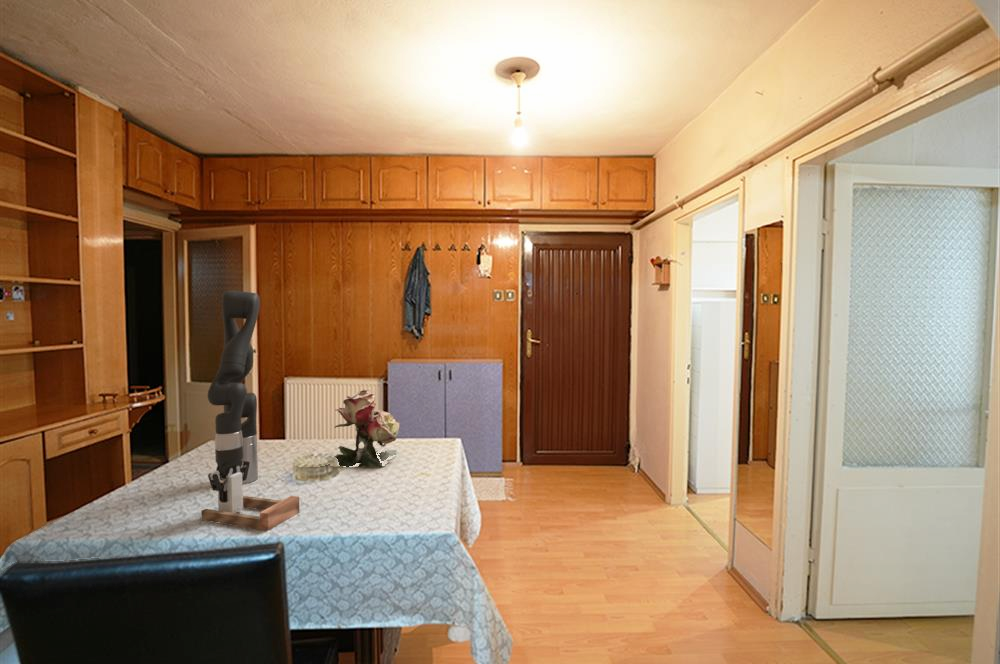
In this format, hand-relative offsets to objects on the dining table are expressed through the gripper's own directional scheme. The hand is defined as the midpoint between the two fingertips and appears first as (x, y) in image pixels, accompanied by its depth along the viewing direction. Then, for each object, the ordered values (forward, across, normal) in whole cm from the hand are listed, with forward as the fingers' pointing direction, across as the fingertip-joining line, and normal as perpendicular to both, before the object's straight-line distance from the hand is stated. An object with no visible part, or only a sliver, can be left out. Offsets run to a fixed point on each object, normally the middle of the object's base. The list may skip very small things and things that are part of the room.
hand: (230, 498), depth 146 cm
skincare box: (+4, 0, 0) cm, 4 cm away
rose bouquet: (+5, -61, +11) cm, 63 cm away
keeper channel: (+5, 0, +8) cm, 9 cm away
